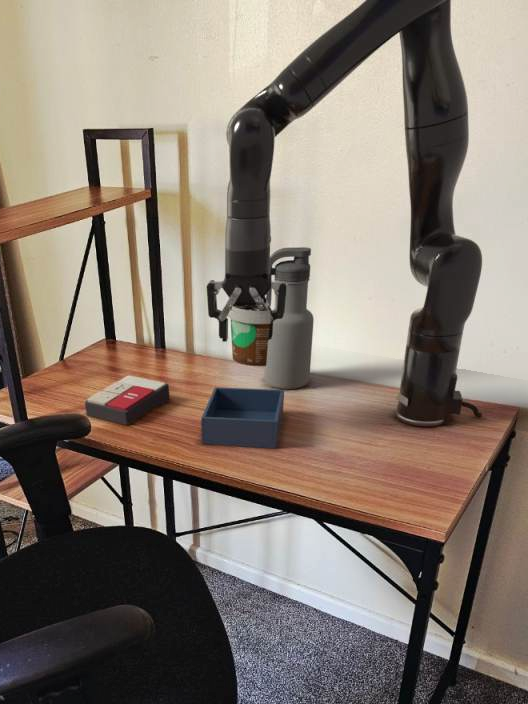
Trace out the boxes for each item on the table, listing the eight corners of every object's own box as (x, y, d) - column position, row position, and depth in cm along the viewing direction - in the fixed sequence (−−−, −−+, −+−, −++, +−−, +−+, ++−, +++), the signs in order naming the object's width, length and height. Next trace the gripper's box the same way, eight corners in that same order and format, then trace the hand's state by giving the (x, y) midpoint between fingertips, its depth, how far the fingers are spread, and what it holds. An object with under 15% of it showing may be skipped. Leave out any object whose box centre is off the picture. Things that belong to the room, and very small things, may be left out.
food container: (220, 349, 134) (220, 295, 129) (252, 346, 134) (253, 293, 129) (233, 371, 124) (235, 314, 118) (268, 368, 124) (271, 311, 119)
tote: (282, 415, 141) (284, 389, 138) (276, 448, 128) (277, 421, 125) (214, 411, 144) (214, 387, 141) (201, 444, 131) (201, 417, 129)
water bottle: (259, 389, 153) (264, 254, 138) (264, 373, 161) (268, 244, 146) (308, 391, 150) (317, 254, 136) (310, 375, 158) (319, 244, 144)
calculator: (83, 398, 144) (127, 372, 154) (86, 417, 146) (129, 390, 156) (125, 408, 138) (169, 380, 148) (128, 428, 140) (170, 399, 150)
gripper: (201, 249, 117) (202, 346, 126) (289, 248, 114) (284, 348, 122) (209, 240, 123) (209, 333, 132) (292, 239, 120) (287, 335, 129)
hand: (245, 340), depth 127 cm, fingers closed on food container, 7 cm apart
